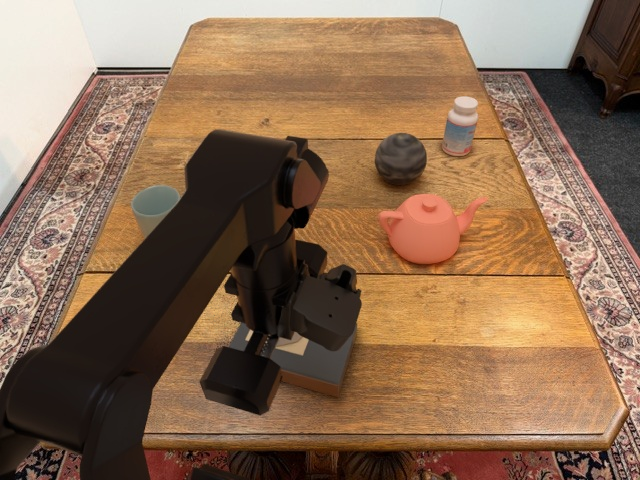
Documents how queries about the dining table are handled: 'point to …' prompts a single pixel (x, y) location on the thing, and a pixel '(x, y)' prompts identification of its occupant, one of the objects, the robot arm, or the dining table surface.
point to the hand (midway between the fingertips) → (277, 359)
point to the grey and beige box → (306, 361)
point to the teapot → (427, 228)
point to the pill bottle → (460, 126)
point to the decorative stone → (400, 158)
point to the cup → (153, 206)
